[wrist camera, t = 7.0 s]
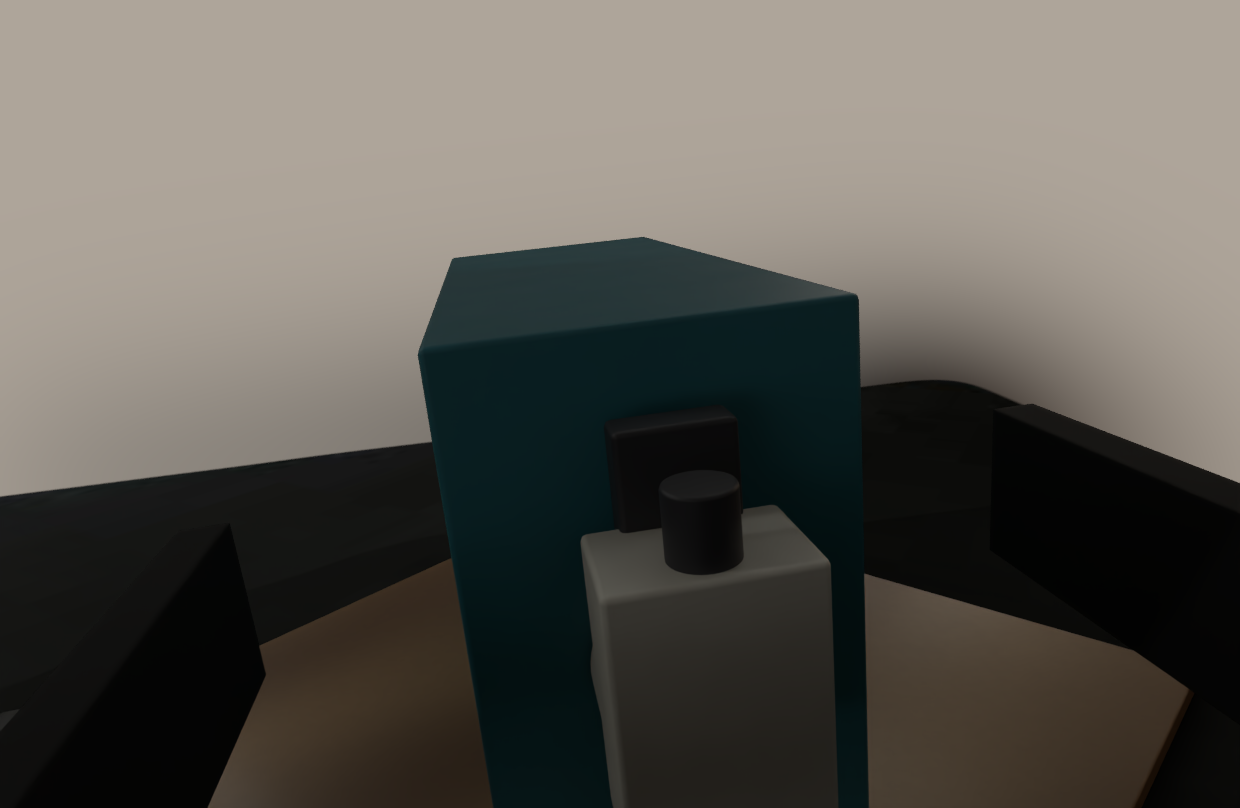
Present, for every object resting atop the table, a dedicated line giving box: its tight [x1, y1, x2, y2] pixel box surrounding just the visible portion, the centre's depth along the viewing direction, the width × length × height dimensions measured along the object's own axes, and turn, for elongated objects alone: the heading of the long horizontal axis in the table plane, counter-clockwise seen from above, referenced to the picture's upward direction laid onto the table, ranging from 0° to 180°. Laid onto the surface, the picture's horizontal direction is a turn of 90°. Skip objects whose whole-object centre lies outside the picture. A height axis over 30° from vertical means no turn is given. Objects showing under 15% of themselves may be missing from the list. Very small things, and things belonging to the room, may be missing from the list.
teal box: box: [418, 237, 869, 808], centre depth 18 cm, size 18×6×10 cm, turn 10°
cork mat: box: [208, 558, 1194, 808], centre depth 20 cm, size 20×17×1 cm
